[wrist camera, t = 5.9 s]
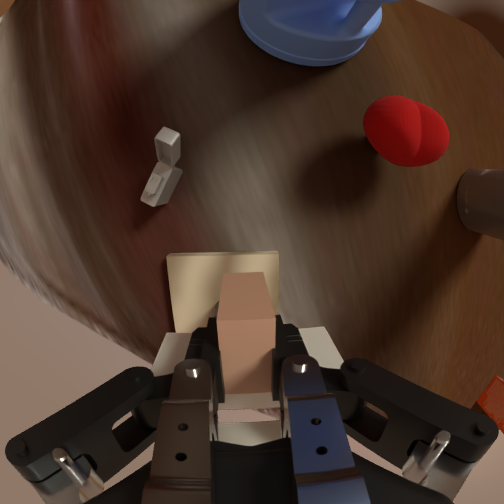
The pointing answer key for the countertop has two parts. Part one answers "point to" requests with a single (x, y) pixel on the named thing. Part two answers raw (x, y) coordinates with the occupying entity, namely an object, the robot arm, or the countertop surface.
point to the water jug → (311, 28)
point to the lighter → (164, 169)
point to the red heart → (405, 131)
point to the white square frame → (247, 354)
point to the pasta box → (494, 401)
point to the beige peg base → (213, 282)
